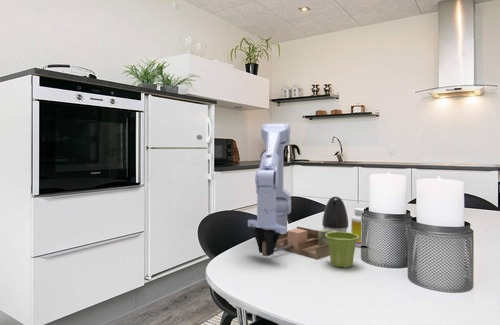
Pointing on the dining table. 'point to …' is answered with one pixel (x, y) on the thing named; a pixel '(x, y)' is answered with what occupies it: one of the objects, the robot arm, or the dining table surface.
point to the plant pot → (341, 248)
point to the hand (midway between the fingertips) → (266, 253)
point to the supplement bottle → (357, 224)
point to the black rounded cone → (335, 215)
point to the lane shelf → (308, 243)
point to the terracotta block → (289, 240)
